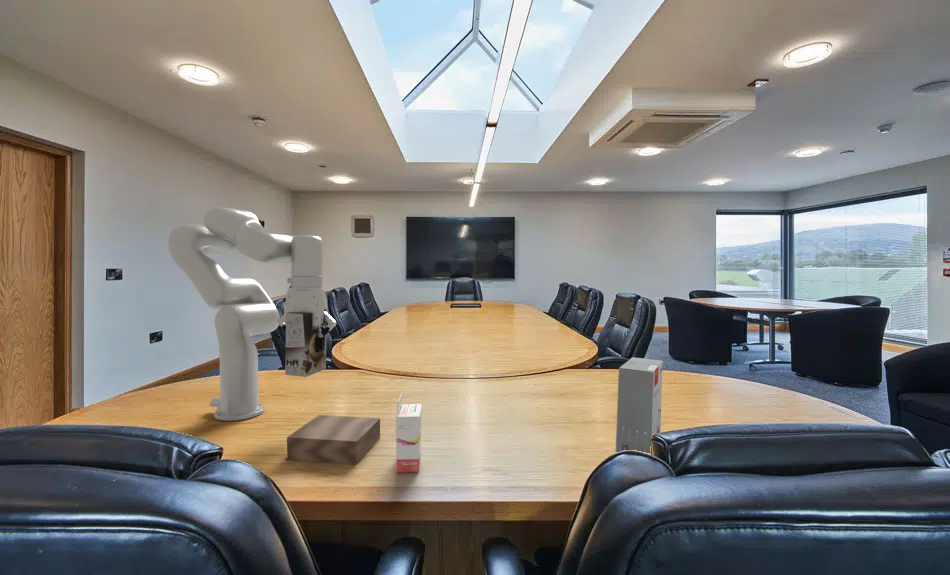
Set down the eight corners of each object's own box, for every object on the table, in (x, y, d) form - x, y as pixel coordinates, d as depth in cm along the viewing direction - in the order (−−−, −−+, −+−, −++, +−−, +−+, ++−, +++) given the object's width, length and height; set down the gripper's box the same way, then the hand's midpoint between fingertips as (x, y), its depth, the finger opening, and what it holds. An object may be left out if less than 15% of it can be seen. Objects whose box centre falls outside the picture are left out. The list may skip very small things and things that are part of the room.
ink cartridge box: (420, 472, 84) (420, 402, 83) (395, 473, 84) (395, 402, 83) (422, 454, 93) (422, 390, 92) (399, 454, 92) (399, 390, 92)
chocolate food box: (307, 377, 102) (307, 313, 102) (284, 375, 104) (284, 312, 103) (327, 368, 111) (327, 310, 111) (306, 367, 113) (306, 308, 112)
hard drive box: (651, 462, 89) (653, 372, 88) (615, 454, 93) (616, 367, 92) (661, 438, 102) (663, 359, 101) (629, 432, 106) (630, 356, 106)
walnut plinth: (287, 459, 89) (286, 437, 89) (319, 434, 103) (319, 415, 103) (357, 464, 87) (356, 441, 87) (380, 438, 101) (380, 418, 101)
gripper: (267, 282, 104) (267, 352, 105) (331, 284, 102) (331, 355, 103) (284, 281, 111) (284, 346, 112) (345, 283, 109) (344, 349, 110)
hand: (306, 350), depth 107 cm, fingers closed on chocolate food box, 6 cm apart
